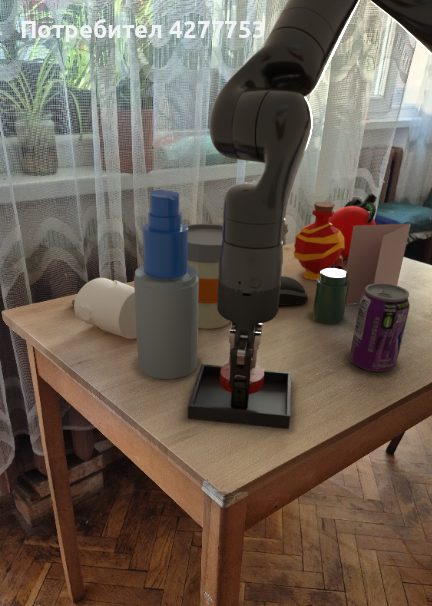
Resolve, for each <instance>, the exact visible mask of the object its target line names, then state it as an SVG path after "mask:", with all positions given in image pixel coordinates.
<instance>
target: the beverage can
mask: <svg viewBox="0 0 432 606" xmlns="http://www.w3.org/2000/svg"><path fill="white" fill-rule="evenodd" d="M409 297H410V292H409V291H408V290H407V289H406V288H404V287H401V286H400V285H397V286H396V285H392V284H386V283H375V284H370V285H367V286H366V287H365V292H364V294H363V295H362V296H361V298H360V301H359V303H358V307H357V312H356V318H355V322H354V327H353V334H352V339H351V345H350V351H349V360H350V361H351V362H352V363H353V364H354V365H356V366H357V367H359V368H361V369H362V370H365V371H369V372H384V371H390V370H392V369H394V368H395V367H396V365H397V362H398V358H399V354H400V351H401V346H402V341H403V338H404V334H405V333H404V332H405V328H406V324H407V320H408V316H409V311H410V307H411V306H410V301H409Z"/></svg>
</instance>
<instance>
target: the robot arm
mask: <svg viewBox="0 0 432 606" xmlns="http://www.w3.org/2000/svg"><path fill="white" fill-rule="evenodd" d="M369 1H370V2H371V3H372V4H374V5H375V6H376V7H378V8H379V9H380V10H381V11H382V12H384V13H385V14H387V15H388V16H389V17H390V18H391V19H392V20H394V21H395V22H396V23H397V24H398V25H399V26H401V27H402V28H403V29H404V30H405V31H406V32H407V33H408V34H409V35H411V37H413V38H414V39H415V40H416V42H418V43H419V44H420V45H421V46H422V47H423V48H424V49H425V50H426V51H427V52H428V53H429V54H430V55H432V0H369ZM359 2H360V0H287V1H286V3H285V5H284V7H283V9H282V10H281V12H280V14H279V16H278V18H277V20H276V21H275V23H274V25H273V27H272V29H271V31H270V33H269V34H268V37H267V38H266V40H265V42H264V44H263V46H262V47H261V48H260V49H259V50H257V52H255V53H254V54H253V55H252V56H251V57H250V58H249V59H248V60H247V61H246V62H245V63H244V64H243V65H242V66H241V67H240V68H239V69H238V70H237V71H236V72H235V73H234V74H233V75H232V76H231V77H230V78H229V79H228V81H227V82H226V83H225V84H224V85H223V87H222V88H221V90H220V91H219V93H218V94H217V96H216V98H215V100H214V103H213V105H212V107H211V110H210V116H209V121H208V122H209V123H208V128H209V129H208V130H209V136H210V137H209V138H210V140H211V143H212V145H213V147H214V148H215V150H216V151H217V152H218V153H219V154H220V155H222V156H224V157H225V158H229V159H233V160H239V161H246V162H253V163H254V162H255V163H261V164H264V170H263V172H262V174H261V176H260V178H259V180H258V181H250V182H248V181H247V182H240V183H236V184H233V185H231V186H230V187H228V188H227V190H226V191H225V194H224V198H223V205H222V225H223V230H222V244H221V250H220V256H219V276H218V301H217V310H218V312H219V314H220V315H221V316H222V317H223V318H225V319H226V320H230V322H231V325H230V329H229V334H228V344H229V353H228V354H229V355H228V363H229V365H230V381H229V385H230V388H232V394H231V407H232V408H234V409H244V410H246V409H247V408H248V399H249V387H251V383H252V380H251V372H252V369H254V368H255V367H256V365H257V360H258V350H259V347H260V345H261V339H262V333H263V324H265V323H269V322H271V321H272V320H274V319H276V317H277V315H278V313H279V306H280V305H279V296H280V286H281V276H282V273H283V264H284V249H283V247H284V246H283V245H284V233H285V224H286V215H287V214H286V213H287V207H288V202H289V199H290V196H291V192H292V189H293V185H294V184H295V183H294V182H295V179H296V177H297V175H298V174H297V173H298V170H299V168H300V165H301V163H302V161H303V158H304V156H305V153H306V151H307V148H308V145H309V142H310V140H311V136H312V130H313V114H312V109H311V106H310V103H309V101H308V99H307V97H308V96H309V95H311V94H312V93H313V92H314V91H315V90H316V89H317V87H318V85H319V83H320V81H321V80H322V78H323V76H324V74H325V71H326V70H327V67H328V66H329V63H330V62H331V60H332V57H333V56H334V55H335V51H336V49H337V47H338V45H339V43H340V41H341V39H342V37H343V35H344V33H345V31H346V29H347V26H348V24H349V23H350V21H351V18H352V16H353V14H354V13H355V10H356V9H357V6H358V5H359ZM236 375H239V376H236ZM243 376H245V377H243Z"/></svg>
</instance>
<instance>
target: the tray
mask: <svg viewBox="0 0 432 606" xmlns="http://www.w3.org/2000/svg"><path fill="white" fill-rule="evenodd" d="M223 366H224V365H216V364H204V363H201V364H200V366H199V370H198V373H197V376H196V379H195V382H194V386H193V389H192V392H191V395H190V399H189V401H188V403H187V404H188V405H187V420H188V419H189V420H197V421H198V420H199V421H208V422H218V423H225V424H227V423H228V424H235V425H236V424H237V425H245V426H256V427H257V426H258V427H266V428H267V427H268V428H277V429H286V430H289V429H290V422H291V411H292V410H291V409H292V406H291V405H292V372H291V371H281V370H280V371H279V370H270V369H263V370H264V383H263V388H262V389H261V390H259V391H258V392H256V393H253V394H249V399H248V408H247V409H246V410H244V409H234V408H232V407H231V394H232V393H231V392H228V391H226V390H225V389H224V388H223V387H222V386H221V384H220V370H221V368H222V367H223Z"/></svg>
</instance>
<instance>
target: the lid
mask: <svg viewBox="0 0 432 606" xmlns="http://www.w3.org/2000/svg"><path fill="white" fill-rule="evenodd" d="M222 366H223V367H222V368H221V370H220V384H221V386H222V387H223V388H224V389H225V390H226V391H228V392H231V393H232V388H230V385H229V381H230V365H229V362H228V363H225V364H223V365H222ZM264 370H265V369H263V368H262V367H261V366H260V365H258V364H256V367H255V368H254V369H252V372H251V380H252V383H251V387H249V394H253V393H256V392H258V391H259V390H261V389H262V388H263V383H264ZM236 376H239V375H236ZM243 377H245V376H243Z"/></svg>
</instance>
